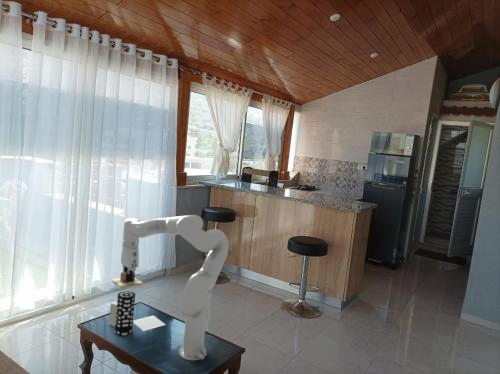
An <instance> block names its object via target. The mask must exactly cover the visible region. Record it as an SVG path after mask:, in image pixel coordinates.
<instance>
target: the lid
mask: <svg viewBox="0 0 500 374" xmlns="http://www.w3.org/2000/svg"><path fill="white" fill-rule="evenodd" d="M127 272H128V271H127ZM127 272H123V271H122V272H120V277H118V278H112V279H111V282H112V283H113V284H114V285H115V286H116V287H118V288H119V289H120V290H124V289H128V288H136V287H141V286H143V285H144V283H143V281H141V280H139V278H136V271H134V273H133V281H130V282H126V275H127V274H128V273H127Z"/></svg>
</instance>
